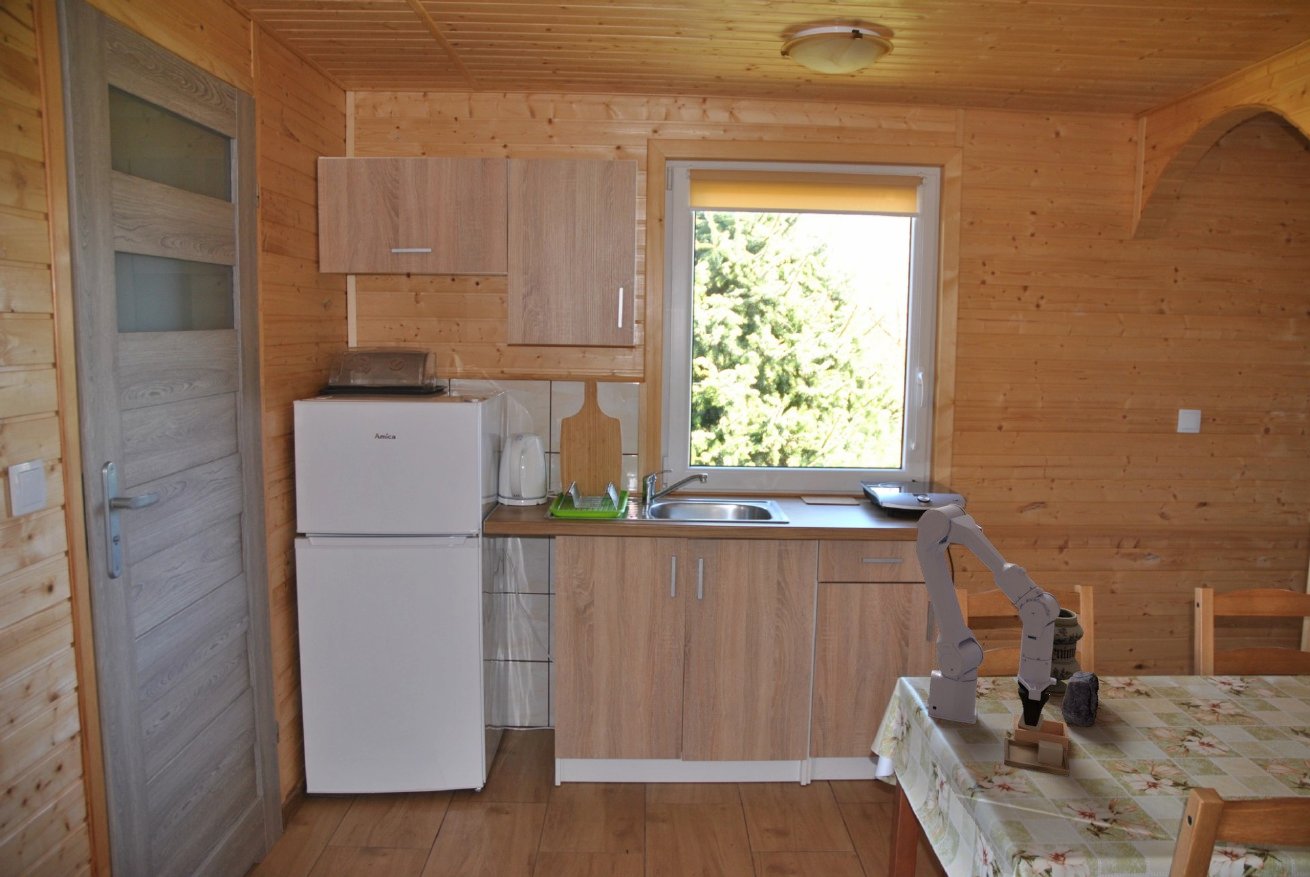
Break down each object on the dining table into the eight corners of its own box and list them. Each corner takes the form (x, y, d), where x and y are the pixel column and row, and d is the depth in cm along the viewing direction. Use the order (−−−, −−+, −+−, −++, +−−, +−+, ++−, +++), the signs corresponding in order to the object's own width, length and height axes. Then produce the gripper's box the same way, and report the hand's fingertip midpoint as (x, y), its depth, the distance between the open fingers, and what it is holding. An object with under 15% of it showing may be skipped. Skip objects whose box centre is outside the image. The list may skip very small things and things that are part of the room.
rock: (1088, 733, 185) (1092, 684, 184) (1059, 725, 189) (1063, 677, 188) (1100, 717, 193) (1104, 670, 192) (1072, 710, 197) (1076, 664, 196)
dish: (1013, 744, 179) (1015, 729, 179) (1013, 729, 186) (1014, 714, 186) (1067, 754, 176) (1068, 738, 175) (1064, 738, 183) (1066, 722, 182)
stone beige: (1038, 762, 171) (1039, 746, 171) (1037, 755, 174) (1038, 740, 174) (1061, 766, 170) (1062, 750, 170) (1060, 759, 173) (1061, 744, 172)
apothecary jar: (1066, 703, 200) (1073, 623, 198) (1012, 686, 208) (1018, 610, 206) (1085, 688, 209) (1093, 612, 207) (1032, 673, 217) (1039, 599, 215)
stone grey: (1017, 724, 181) (1023, 711, 180) (1017, 718, 183) (1022, 705, 183) (1038, 733, 179) (1043, 720, 179) (1037, 727, 182) (1043, 714, 182)
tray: (1004, 766, 170) (1004, 759, 170) (1004, 743, 179) (1004, 737, 179) (1068, 778, 166) (1069, 771, 166) (1065, 754, 176) (1066, 748, 175)
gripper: (1060, 671, 171) (1054, 740, 173) (1056, 646, 185) (1050, 711, 186) (1019, 665, 174) (1014, 733, 175) (1018, 641, 187) (1013, 705, 189)
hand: (1030, 721), depth 181 cm, fingers closed on stone grey, 3 cm apart
